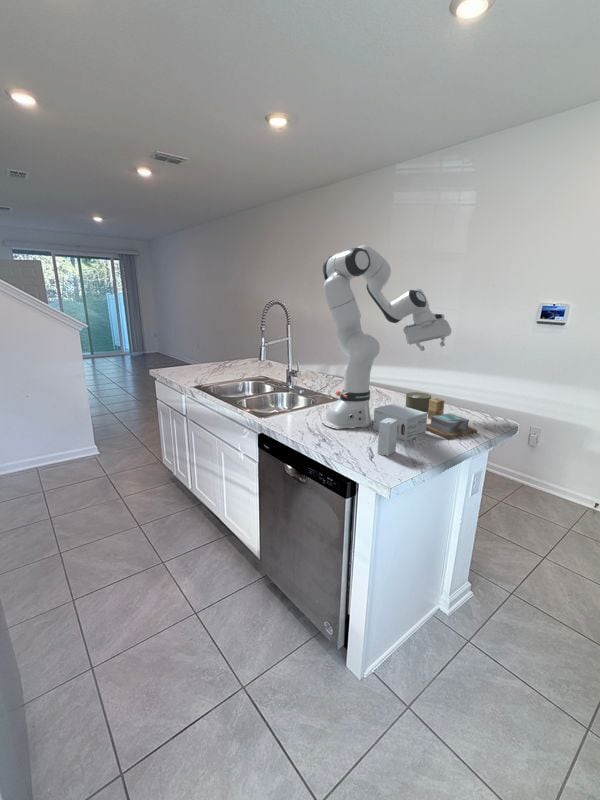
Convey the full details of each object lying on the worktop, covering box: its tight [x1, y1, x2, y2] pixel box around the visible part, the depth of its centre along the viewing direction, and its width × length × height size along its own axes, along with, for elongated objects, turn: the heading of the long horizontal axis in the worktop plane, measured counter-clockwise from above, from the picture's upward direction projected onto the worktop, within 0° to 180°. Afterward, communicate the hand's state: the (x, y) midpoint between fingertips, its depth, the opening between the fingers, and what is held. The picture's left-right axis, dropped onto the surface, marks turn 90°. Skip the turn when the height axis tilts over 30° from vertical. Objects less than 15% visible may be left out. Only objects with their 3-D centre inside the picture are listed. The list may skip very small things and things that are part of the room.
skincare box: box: [377, 418, 398, 457], centre depth 128 cm, size 6×4×12 cm
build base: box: [426, 412, 478, 440], centre depth 150 cm, size 16×14×6 cm
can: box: [405, 391, 432, 412], centre depth 182 cm, size 12×12×7 cm
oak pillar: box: [427, 398, 445, 420], centre depth 165 cm, size 4×4×9 cm
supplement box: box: [372, 403, 428, 442], centre depth 150 cm, size 17×13×9 cm
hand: (432, 348), depth 168 cm, fingers open, 8 cm apart
